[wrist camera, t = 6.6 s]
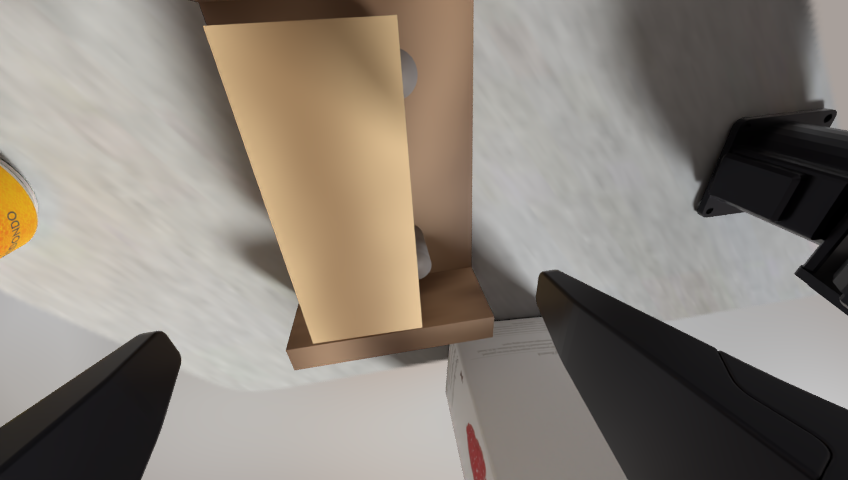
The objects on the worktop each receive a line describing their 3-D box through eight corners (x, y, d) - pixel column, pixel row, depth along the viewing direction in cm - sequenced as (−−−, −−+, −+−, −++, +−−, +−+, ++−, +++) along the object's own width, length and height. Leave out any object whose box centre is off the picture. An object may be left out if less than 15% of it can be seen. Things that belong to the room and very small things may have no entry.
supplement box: (448, 322, 25) (530, 612, 12) (556, 312, 26) (734, 566, 13) (442, 393, 30) (497, 656, 17) (534, 382, 31) (651, 619, 18)
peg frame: (468, -63, 13) (520, -119, 9) (468, 278, 23) (492, 337, 18) (189, -47, 12) (84, -101, 8) (310, 302, 22) (294, 370, 17)
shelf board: (390, 21, 11) (397, 14, 9) (414, 286, 18) (422, 327, 15) (242, 30, 11) (202, 25, 8) (321, 299, 17) (313, 343, 15)
